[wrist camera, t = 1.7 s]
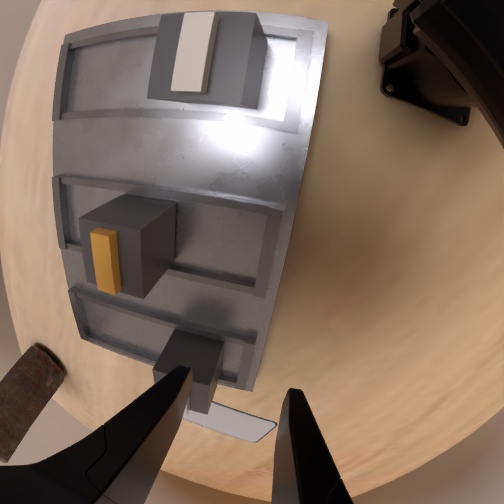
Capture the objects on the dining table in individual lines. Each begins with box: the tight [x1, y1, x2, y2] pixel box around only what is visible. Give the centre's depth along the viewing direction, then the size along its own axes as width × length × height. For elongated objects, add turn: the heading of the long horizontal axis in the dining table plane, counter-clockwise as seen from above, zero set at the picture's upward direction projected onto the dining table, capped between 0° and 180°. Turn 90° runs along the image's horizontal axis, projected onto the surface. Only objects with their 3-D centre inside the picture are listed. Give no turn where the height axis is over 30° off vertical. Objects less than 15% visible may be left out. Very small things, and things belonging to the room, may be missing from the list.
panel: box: [52, 11, 329, 392], centre depth 18 cm, size 18×28×3 cm, turn 172°
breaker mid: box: [78, 195, 176, 299], centre depth 15 cm, size 4×4×5 cm
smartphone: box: [182, 401, 277, 442], centre depth 30 cm, size 7×1×15 cm
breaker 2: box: [152, 329, 225, 415], centre depth 19 cm, size 4×4×5 cm
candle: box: [0, 345, 64, 463], centre depth 24 cm, size 8×7×20 cm
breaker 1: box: [147, 12, 268, 110], centre depth 11 cm, size 4×4×5 cm
